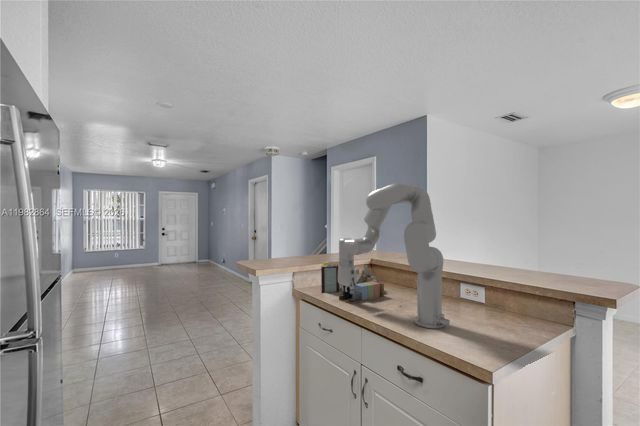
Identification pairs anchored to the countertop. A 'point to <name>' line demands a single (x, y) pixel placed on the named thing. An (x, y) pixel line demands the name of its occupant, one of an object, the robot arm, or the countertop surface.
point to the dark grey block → (355, 296)
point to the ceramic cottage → (365, 276)
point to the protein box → (329, 277)
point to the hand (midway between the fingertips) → (346, 299)
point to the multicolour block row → (366, 299)
